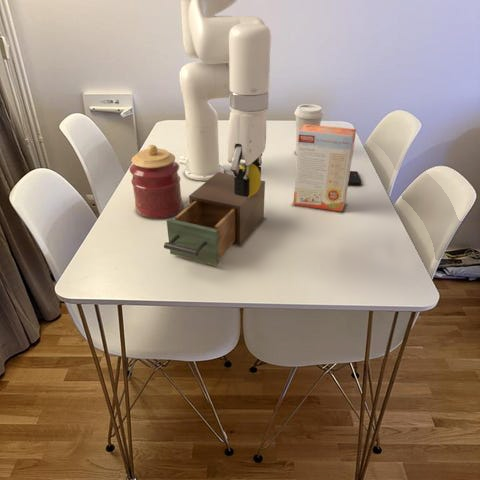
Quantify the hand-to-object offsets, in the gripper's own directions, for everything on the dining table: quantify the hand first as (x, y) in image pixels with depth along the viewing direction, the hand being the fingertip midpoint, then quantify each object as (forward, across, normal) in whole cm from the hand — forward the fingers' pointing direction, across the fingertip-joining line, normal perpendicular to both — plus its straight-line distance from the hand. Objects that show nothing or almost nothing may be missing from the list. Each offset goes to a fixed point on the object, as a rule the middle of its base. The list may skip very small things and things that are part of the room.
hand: (247, 188), depth 100 cm
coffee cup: (+18, -68, -7) cm, 71 cm away
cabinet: (+17, -11, -10) cm, 22 cm away
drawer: (+16, +4, -10) cm, 19 cm away
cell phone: (+17, -50, +7) cm, 54 cm away
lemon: (+2, 0, 0) cm, 2 cm away
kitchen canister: (+17, -12, -32) cm, 38 cm away
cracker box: (+17, -32, +8) cm, 38 cm away
